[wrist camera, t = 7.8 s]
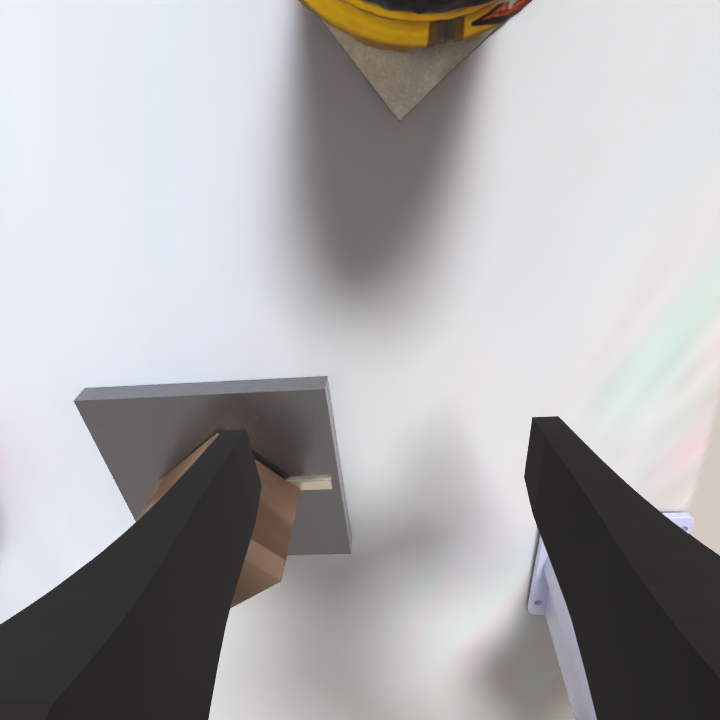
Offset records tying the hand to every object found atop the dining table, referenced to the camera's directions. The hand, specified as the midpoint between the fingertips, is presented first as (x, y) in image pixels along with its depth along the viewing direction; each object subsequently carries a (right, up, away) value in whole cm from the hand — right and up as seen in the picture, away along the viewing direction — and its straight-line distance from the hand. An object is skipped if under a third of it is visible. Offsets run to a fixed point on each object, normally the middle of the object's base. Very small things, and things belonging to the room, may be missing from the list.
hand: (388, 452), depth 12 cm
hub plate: (-8, -4, +14) cm, 16 cm away
